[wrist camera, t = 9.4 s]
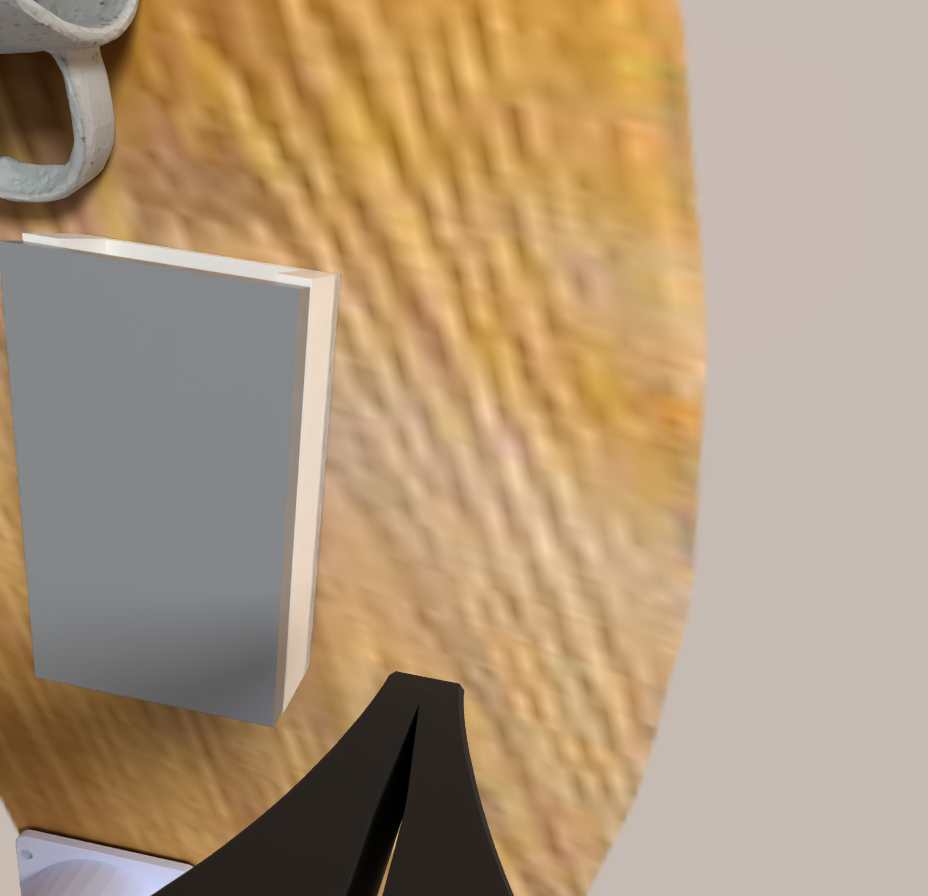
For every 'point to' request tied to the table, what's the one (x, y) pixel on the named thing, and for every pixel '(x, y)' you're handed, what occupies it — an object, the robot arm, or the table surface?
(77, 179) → the ceramic mug
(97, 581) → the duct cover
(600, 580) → the table surface
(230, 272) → the cable duct
